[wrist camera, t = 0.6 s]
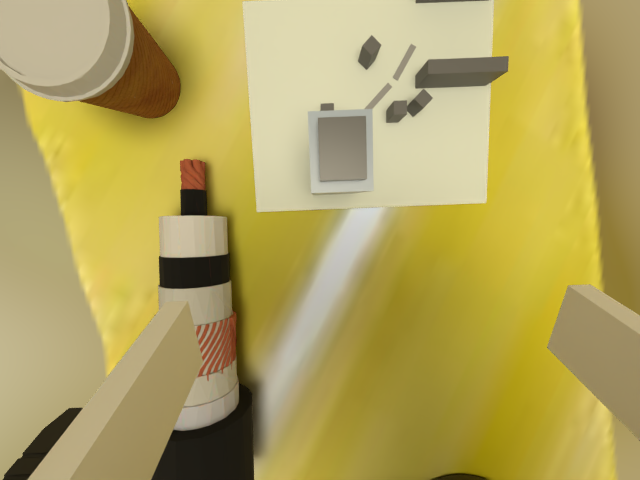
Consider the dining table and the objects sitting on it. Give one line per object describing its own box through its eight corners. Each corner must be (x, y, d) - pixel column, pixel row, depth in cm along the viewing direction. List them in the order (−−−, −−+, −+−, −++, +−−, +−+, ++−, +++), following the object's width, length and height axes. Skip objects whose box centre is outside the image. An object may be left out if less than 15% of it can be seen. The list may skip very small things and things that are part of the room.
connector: (352, 193, 31) (377, 190, 18) (313, 195, 31) (310, 193, 18) (351, 143, 30) (376, 102, 17) (311, 145, 30) (306, 105, 17)
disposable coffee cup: (182, 24, 29) (88, -96, 17) (207, 123, 30) (137, 76, 19) (88, 45, 29) (-68, -58, 18) (117, 143, 31) (-9, 109, 19)
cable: (235, 174, 36) (259, 155, 27) (242, 453, 37) (267, 524, 28) (135, 167, 31) (124, 140, 22) (146, 487, 32) (140, 586, 23)
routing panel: (483, 202, 32) (507, 203, 28) (257, 211, 32) (249, 213, 28) (491, -10, 29) (518, -43, 25) (243, -1, 29) (231, -32, 25)
